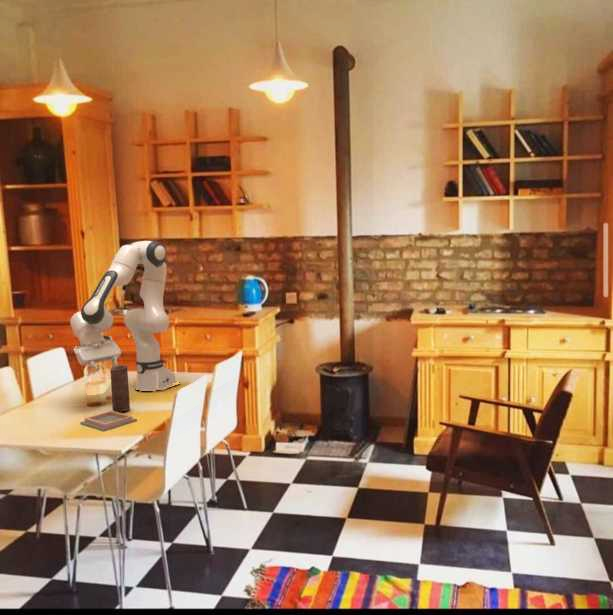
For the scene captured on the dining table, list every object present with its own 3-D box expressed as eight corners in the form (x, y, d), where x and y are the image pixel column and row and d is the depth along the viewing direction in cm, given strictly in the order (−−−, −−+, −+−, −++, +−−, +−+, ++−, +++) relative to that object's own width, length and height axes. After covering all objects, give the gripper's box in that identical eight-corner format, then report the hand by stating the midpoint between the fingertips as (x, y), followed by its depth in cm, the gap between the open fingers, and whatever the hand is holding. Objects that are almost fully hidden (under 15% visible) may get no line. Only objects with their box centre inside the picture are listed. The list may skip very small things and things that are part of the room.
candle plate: (113, 414, 294) (112, 409, 294) (136, 421, 284) (136, 415, 284) (80, 424, 282) (80, 418, 281) (104, 431, 272) (103, 425, 271)
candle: (126, 413, 295) (124, 368, 292) (110, 413, 295) (107, 368, 292) (132, 408, 302) (129, 364, 299) (116, 408, 303) (113, 364, 300)
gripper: (74, 342, 296) (89, 368, 291) (114, 335, 312) (128, 359, 307) (69, 351, 299) (83, 376, 294) (108, 344, 315) (123, 368, 310)
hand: (107, 368), depth 301 cm, fingers open, 8 cm apart
